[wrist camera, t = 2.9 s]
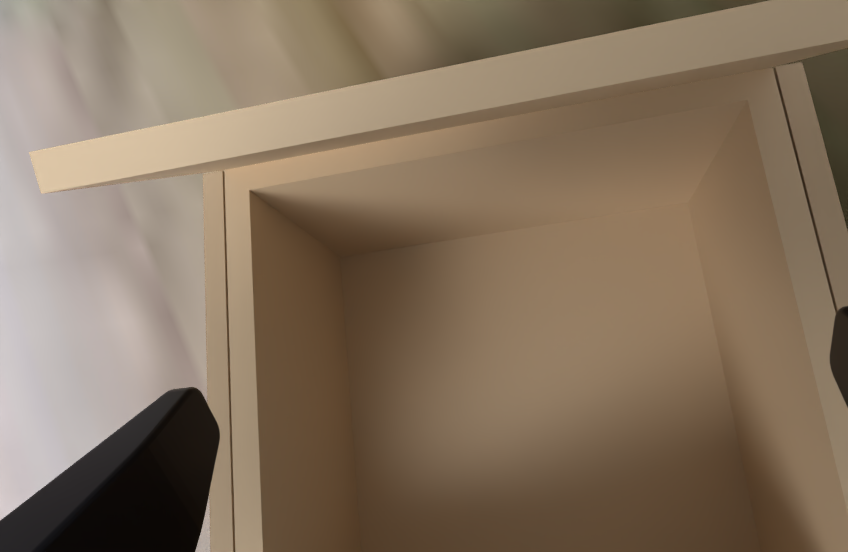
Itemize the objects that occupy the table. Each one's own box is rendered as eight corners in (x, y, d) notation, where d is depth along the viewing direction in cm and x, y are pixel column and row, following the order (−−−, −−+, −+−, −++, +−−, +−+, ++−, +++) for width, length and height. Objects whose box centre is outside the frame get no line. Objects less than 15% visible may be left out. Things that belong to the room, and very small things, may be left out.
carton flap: (975, 14, 7) (976, -52, 7) (41, 194, 9) (26, 145, 9) (772, 66, 13) (770, 31, 13) (224, 170, 15) (217, 140, 15)
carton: (822, 639, 17) (996, 786, 10) (337, 659, 19) (215, 789, 12) (720, 183, 20) (802, 61, 13) (312, 249, 22) (203, 174, 15)
